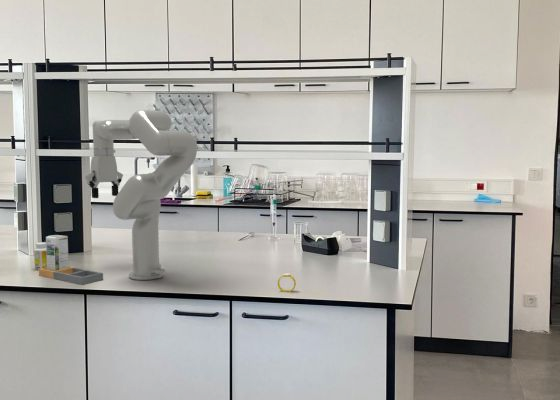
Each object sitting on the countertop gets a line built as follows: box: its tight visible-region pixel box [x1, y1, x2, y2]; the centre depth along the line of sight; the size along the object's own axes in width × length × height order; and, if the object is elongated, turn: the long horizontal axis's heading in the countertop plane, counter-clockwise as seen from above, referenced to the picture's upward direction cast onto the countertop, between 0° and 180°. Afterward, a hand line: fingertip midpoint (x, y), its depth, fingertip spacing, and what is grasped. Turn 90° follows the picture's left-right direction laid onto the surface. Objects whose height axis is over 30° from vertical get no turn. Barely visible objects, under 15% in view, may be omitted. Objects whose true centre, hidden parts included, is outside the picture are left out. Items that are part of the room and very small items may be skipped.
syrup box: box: [45, 234, 70, 271], centre depth 232 cm, size 6×6×14 cm
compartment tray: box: [38, 266, 104, 285], centre depth 228 cm, size 26×9×2 cm, turn 54°
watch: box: [277, 272, 297, 293], centre depth 207 cm, size 6×3×6 cm, turn 79°
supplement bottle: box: [33, 241, 47, 271], centre depth 243 cm, size 6×6×10 cm
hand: (105, 196), depth 241 cm, fingers open, 9 cm apart
